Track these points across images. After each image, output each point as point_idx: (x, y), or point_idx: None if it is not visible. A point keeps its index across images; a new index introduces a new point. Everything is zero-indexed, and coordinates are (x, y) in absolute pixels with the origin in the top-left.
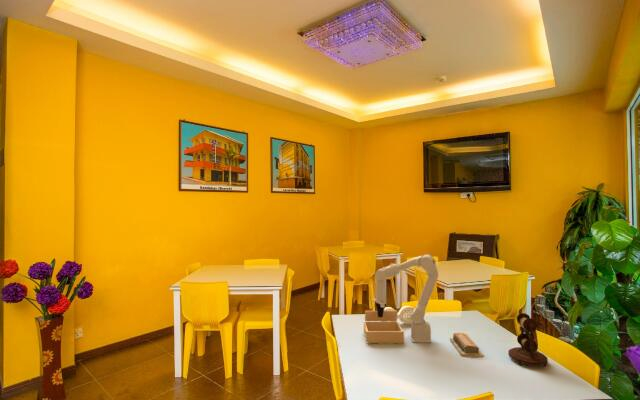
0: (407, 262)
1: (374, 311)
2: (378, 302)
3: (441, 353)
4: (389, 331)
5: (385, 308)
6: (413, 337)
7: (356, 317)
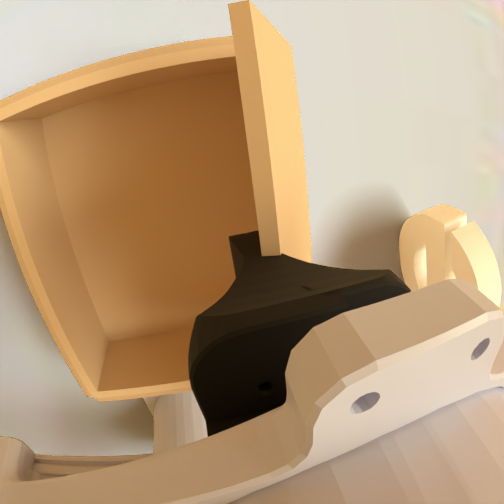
0: None
1: (255, 197)
2: (75, 497)
3: (79, 449)
4: (50, 316)
5: (488, 288)
6: (163, 403)
7: (497, 58)
